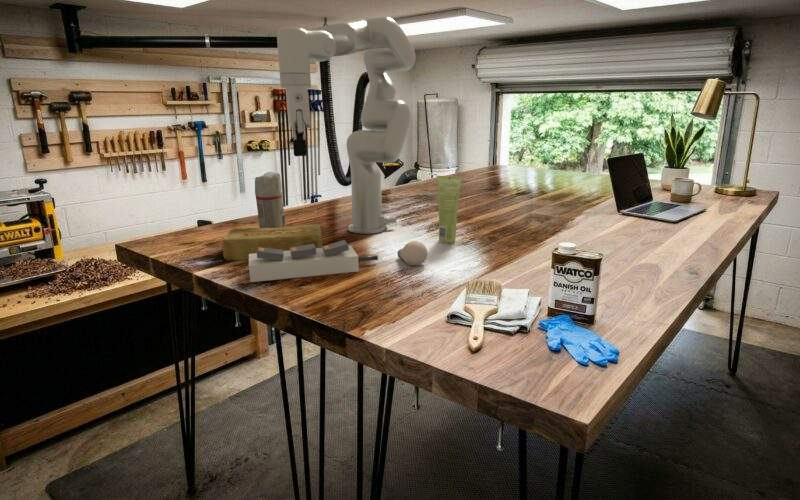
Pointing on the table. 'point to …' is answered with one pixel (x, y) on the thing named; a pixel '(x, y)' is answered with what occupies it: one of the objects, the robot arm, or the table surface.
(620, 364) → the table surface
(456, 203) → the tube
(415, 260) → the light bulb
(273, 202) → the grey cylinder
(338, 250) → the block
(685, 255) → the table surface
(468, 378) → the table surface
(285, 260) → the power strip
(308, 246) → the plate
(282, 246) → the brick
